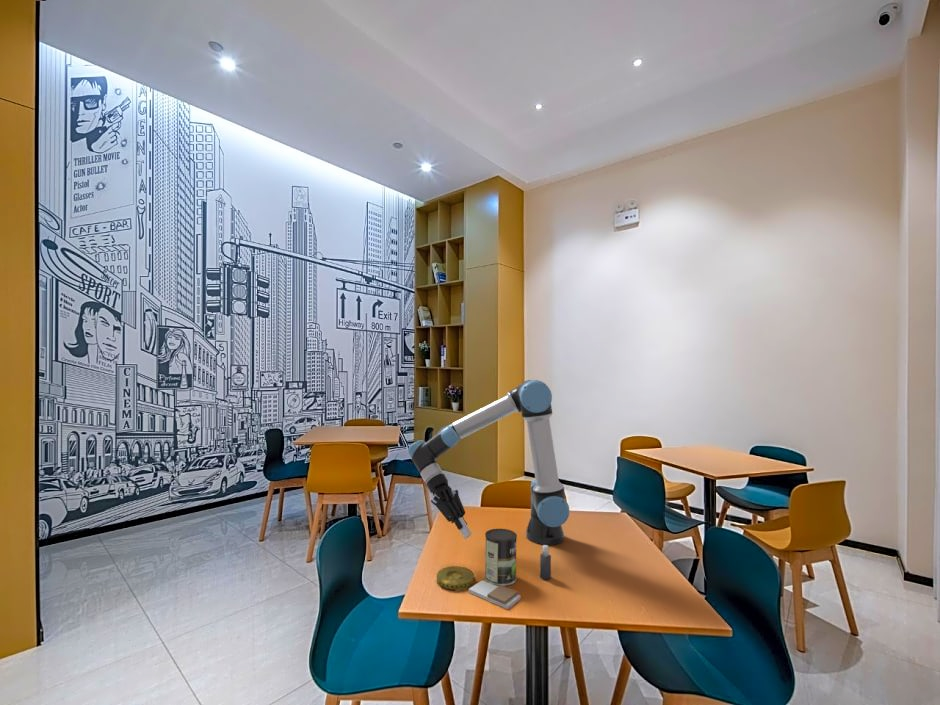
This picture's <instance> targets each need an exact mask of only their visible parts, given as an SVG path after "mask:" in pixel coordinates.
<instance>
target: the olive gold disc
mask: <svg viewBox="0 0 940 705" xmlns="http://www.w3.org/2000/svg"><path fill="white" fill-rule="evenodd" d="M437 571H438V572H436V585H437V586H439V588H445V589H448V590H455V591H456V592H459V591H464V590H467V589H468V588H470V587H471V586H472V585H473V583H474V582H475V574H474V571H473V570H472V569H469V568H467V567H464V566H457V565H454V566H453V565H452V566H446V567H443V568H441V569H439V570H437Z"/></svg>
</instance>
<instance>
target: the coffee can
mask: <svg viewBox="0 0 940 705" xmlns="http://www.w3.org/2000/svg"><path fill="white" fill-rule="evenodd" d="M484 536H485V548H484V549H485V551H484V554H485V558H484V559H485V561H484V562H485V564H484V565H485V566H484V581H486V582H488V583H490V584H493V585H495V586H498V587H499V586H500V585H502V586H505V587H508V586H511V585H513V584H515V583H516V581H517V538H518V534H517V533H516V532H515V531H513V530H511V529H506V528H491V529H488V530H487V531H485V533H484Z"/></svg>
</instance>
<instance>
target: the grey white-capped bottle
mask: <svg viewBox="0 0 940 705" xmlns="http://www.w3.org/2000/svg"><path fill="white" fill-rule="evenodd" d="M549 548H550V547H549V545H546V544H542V553H541V554H540V556H539V557H540V558H539V559H540V560H539V561H540V563H539V578H540V579H541V580H543V581H549V580H551V578H552V575H551V574H552V569H551V568H552V565H551V564H552V555H551V554H550V550H549Z"/></svg>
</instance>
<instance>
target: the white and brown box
mask: <svg viewBox="0 0 940 705" xmlns="http://www.w3.org/2000/svg"><path fill="white" fill-rule="evenodd" d="M468 593H469V594H472V595H473V596H476V597H477V598H478V597H479V598H481V599H483V600H484V601H487V602H490V603H492V604H493V605H494V604H495V605H497V606H499V607H501V608H504V609H506V610H509V609H510V608H512V606H514V605H515V604H516V603H517V602H519V601H520V600H521V597H522V596H521V595H520V594H518V593H519V592H518V591H517V590H515V589H512V588H509V587H508V586H502V585H500V586H496V585H493V584H490V583H488V582H487V581H486V580H480V581H479V582H478V583H475V584H474V585H473V586H470V587H468Z"/></svg>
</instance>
